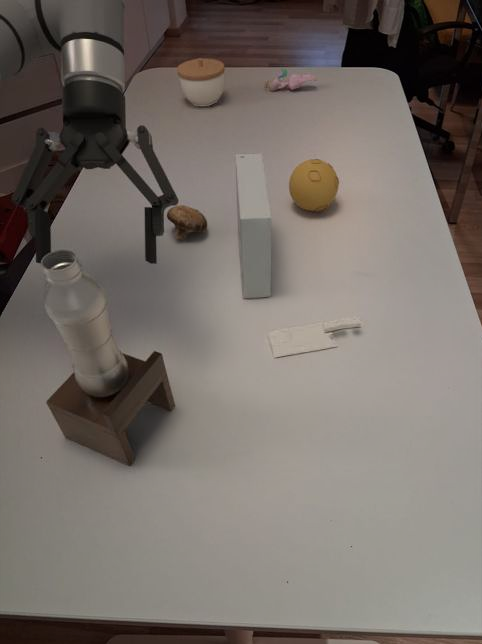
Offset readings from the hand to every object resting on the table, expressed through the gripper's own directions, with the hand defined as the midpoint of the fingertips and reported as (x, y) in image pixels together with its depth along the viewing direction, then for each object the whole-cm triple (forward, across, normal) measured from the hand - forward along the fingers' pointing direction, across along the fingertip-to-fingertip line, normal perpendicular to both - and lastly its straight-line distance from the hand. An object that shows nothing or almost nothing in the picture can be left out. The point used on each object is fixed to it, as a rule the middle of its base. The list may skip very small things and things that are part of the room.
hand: (97, 263), depth 67 cm
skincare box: (-4, -18, -33) cm, 38 cm away
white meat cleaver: (+10, -28, -18) cm, 35 cm away
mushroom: (-11, -5, -40) cm, 41 cm away
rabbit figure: (-60, -26, -89) cm, 110 cm away
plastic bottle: (+16, 0, -2) cm, 16 cm away
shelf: (+21, 0, -8) cm, 22 cm away
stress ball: (-17, -30, -46) cm, 57 cm away
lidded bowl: (-55, -2, -84) cm, 101 cm away
